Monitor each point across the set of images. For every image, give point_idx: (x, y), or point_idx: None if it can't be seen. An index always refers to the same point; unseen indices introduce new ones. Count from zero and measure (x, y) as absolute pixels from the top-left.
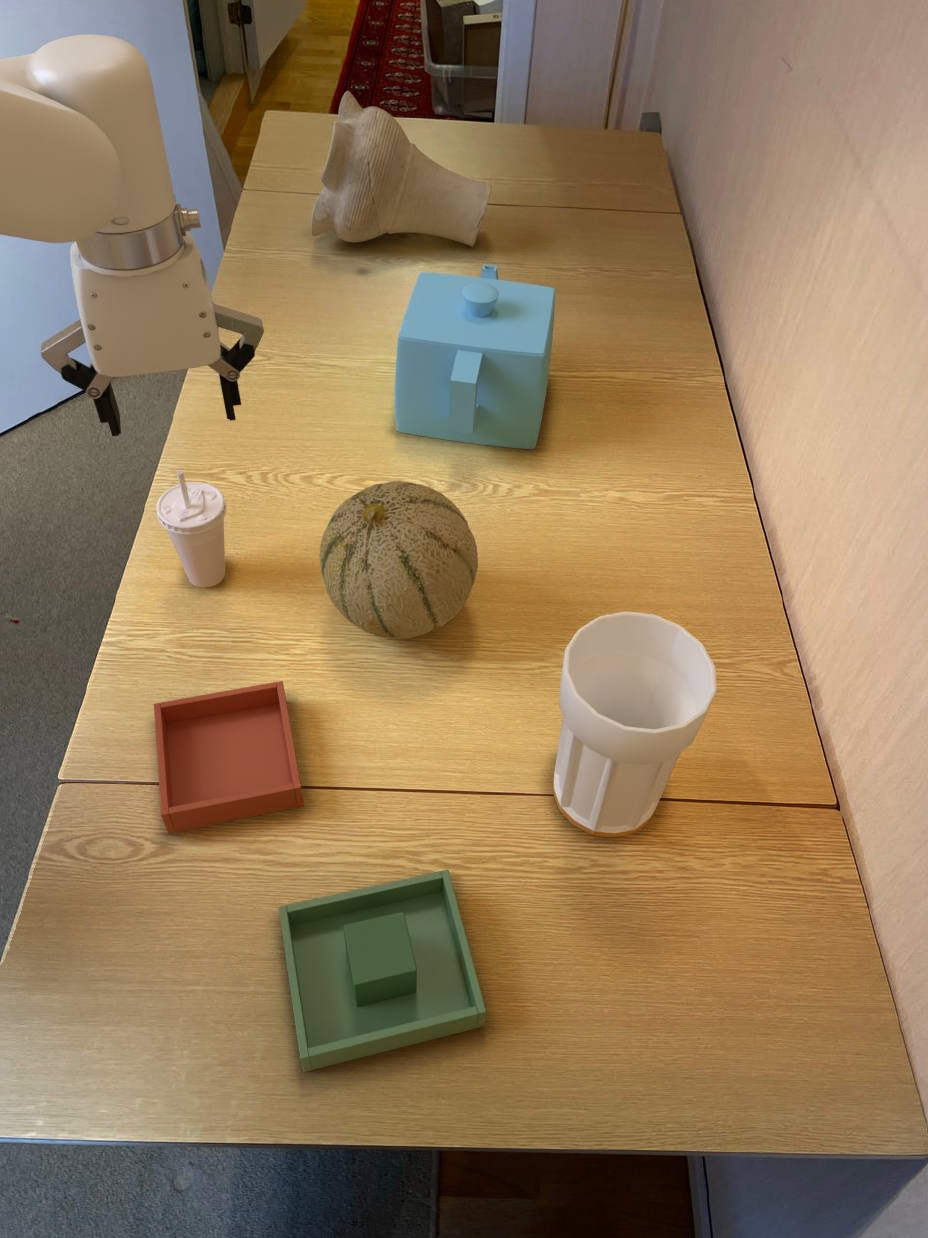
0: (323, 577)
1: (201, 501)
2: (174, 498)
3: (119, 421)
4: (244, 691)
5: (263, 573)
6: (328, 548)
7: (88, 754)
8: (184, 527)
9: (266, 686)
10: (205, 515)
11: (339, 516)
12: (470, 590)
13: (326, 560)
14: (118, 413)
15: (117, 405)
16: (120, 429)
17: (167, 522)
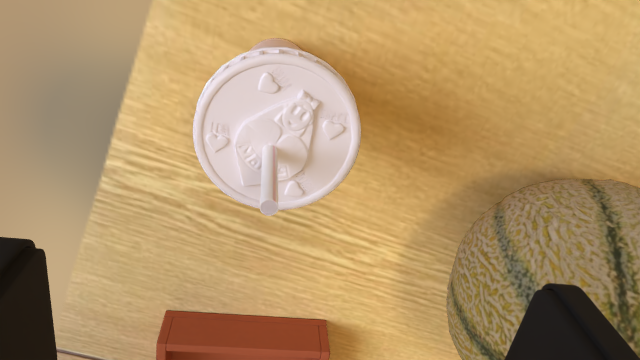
0: (457, 309)
1: (305, 142)
2: (242, 105)
3: (43, 327)
4: (278, 355)
5: (370, 103)
6: (496, 355)
7: (72, 324)
8: (249, 205)
9: (307, 355)
10: (303, 184)
11: None
12: None
13: (479, 350)
14: (32, 301)
15: (19, 271)
16: (53, 350)
17: (213, 182)
